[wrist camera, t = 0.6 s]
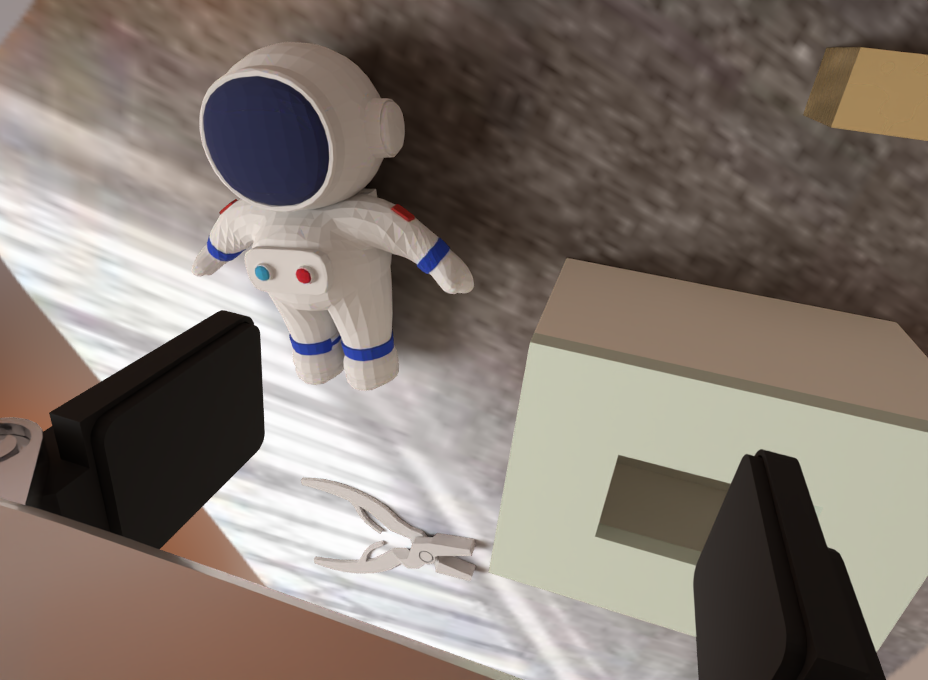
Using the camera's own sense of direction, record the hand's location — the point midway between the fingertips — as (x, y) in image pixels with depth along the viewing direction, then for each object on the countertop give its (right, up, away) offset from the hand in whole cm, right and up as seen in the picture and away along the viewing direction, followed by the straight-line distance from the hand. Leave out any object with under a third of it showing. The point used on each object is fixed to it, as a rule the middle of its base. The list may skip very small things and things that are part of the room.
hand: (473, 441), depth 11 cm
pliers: (-6, -14, +40) cm, 43 cm away
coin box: (+14, -1, +26) cm, 29 cm away
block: (+20, +14, +17) cm, 29 cm away
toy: (-7, +10, +28) cm, 30 cm away
